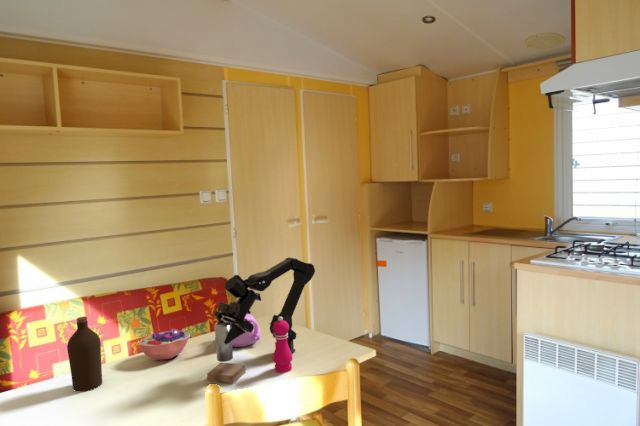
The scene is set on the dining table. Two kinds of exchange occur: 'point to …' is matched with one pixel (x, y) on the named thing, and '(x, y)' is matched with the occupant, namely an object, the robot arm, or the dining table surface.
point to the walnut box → (226, 373)
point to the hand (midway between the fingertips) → (220, 341)
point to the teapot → (248, 334)
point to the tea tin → (223, 349)
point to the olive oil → (85, 357)
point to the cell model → (164, 344)
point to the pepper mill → (282, 347)
